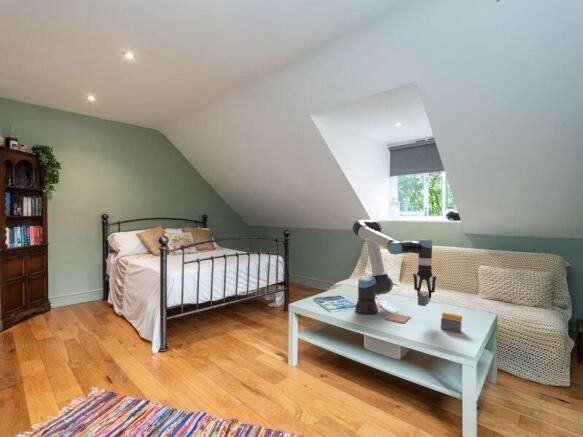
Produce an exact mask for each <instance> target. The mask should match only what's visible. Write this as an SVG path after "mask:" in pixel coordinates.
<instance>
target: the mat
mask: <svg viewBox="0 0 583 437" xmlns="http://www.w3.org/2000/svg"><path fill="white" fill-rule="evenodd" d="M410 319H412V318H411V316H408V315H404V314H400V313H395V312H392V313H391V314H389V315H388V316H386V317H385V318H384V320H385V321H390V322H396V323H399V324H405V323H407V322H408V321H409V320H410Z"/></svg>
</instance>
